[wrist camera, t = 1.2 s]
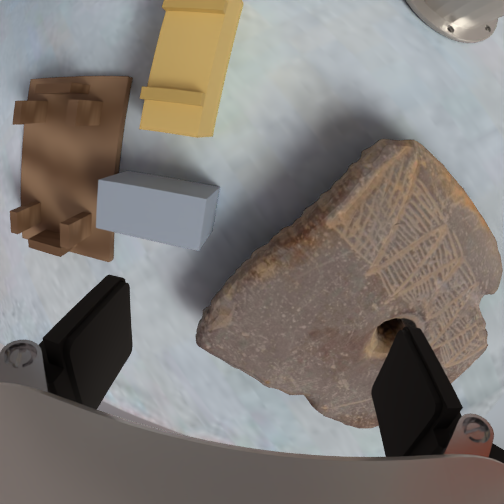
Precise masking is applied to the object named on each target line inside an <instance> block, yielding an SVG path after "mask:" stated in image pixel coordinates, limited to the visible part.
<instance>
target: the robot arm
mask: <svg viewBox="0 0 504 504" xmlns="http://www.w3.org/2000/svg"><path fill="white" fill-rule="evenodd" d="M406 2H407V3H408V4H409V6H410V7H411V8H412V10H413V11H414V12H415V13H416V14H417V15H418V16H419V17H420V19H422V20H423V21H424V22H425V23H426V24H427V25H428V26H430V27H431V28H432V29H434V30H435V31H437V32H438V33H440V34H442V35H444V36H445V37H447V38H449V39H452V40H455V41H458V42H463V43H476V42H479V41H483V40H485V39H487V38H489V37H490V36H491V35H492V34H493V32H494V31H495V29H496V27H497V22H498V18H499V17H502V16H504V0H406ZM131 351H132V331H131V313H130V287H129V284H128V283H126V282H125V279H124V278H121V277H117V276H113V275H107V276H106V277H105V278H104V279H103V280H102V281H101V282H100V283H99V284H98V285H96V286H95V287H94V288H93V289H92V290H91V291H90V292H89V293H88V294H87V295H86V296H85V297H84V298H83V299H82V300H81V301H80V302H79V303H77V304H76V305H75V306H74V307H73V308H72V309H71V310H70V311H69V312H68V313H67V314H66V315H65V316H64V317H63V318H62V319H61V320H60V321H59V322H58V323H57V324H56V325H55V326H54V327H53V328H52V329H51V330H50V331H49V332H48V333H47V334H46V335H45V336H44V337H43V341H42V342H41V343H40V344H39V345H38V344H37V343H35V342H33V341H30V340H17V341H13V342H11V343H9V344H7V345H6V346H5V347H4V348H3V349H2V350H1V352H0V504H504V450H503V449H501V448H499V447H498V446H496V445H494V444H493V439H494V432H493V429H492V427H491V425H490V424H489V422H487V420H486V419H484V418H483V417H481V416H479V415H476V414H465V415H463V416H461V413H460V411H461V409H462V408H463V407H462V405H461V403H460V401H459V399H458V397H457V395H456V393H455V391H454V389H453V387H452V385H451V383H450V381H449V379H448V377H447V375H446V373H445V371H444V370H443V368H442V366H441V364H440V362H439V360H438V358H437V357H436V355H435V353H434V351H433V349H432V348H431V346H430V344H429V342H428V340H427V339H426V337H425V335H424V333H423V332H422V330H421V329H420V328H415V327H404V328H403V329H402V330H399V331H398V333H397V335H396V337H395V339H394V341H393V344H392V346H391V348H390V350H389V353H388V355H387V357H386V359H385V361H384V363H383V366H382V368H381V370H380V372H379V374H378V376H377V378H376V380H375V382H374V384H373V386H372V390H371V395H372V399H373V403H374V407H375V412H376V416H377V420H378V424H379V428H380V433H381V437H382V441H383V446H384V450H385V455H386V457H339V456H320V455H306V454H294V453H284V452H275V451H267V450H260V449H253V448H246V447H240V446H234V445H228V444H223V443H218V442H212V441H207V440H203V439H198V438H193V437H189V436H185V435H180V434H176V433H172V432H168V431H164V430H161V429H156V428H153V427H149V426H146V425H143V424H139V423H136V422H132V421H129V420H126V419H123V418H120V417H117V416H114V415H111V414H108V413H105V412H102V411H99V410H97V408H98V406H99V405H100V403H101V401H102V400H103V398H104V396H105V395H106V393H107V391H108V390H109V388H110V386H111V385H112V383H113V382H114V380H115V378H116V377H117V375H118V373H119V372H120V370H121V369H122V367H123V365H124V364H125V362H126V361H127V359H128V357H129V356H130V354H131Z"/></svg>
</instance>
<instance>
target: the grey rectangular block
mask: <svg viewBox="0 0 504 504" xmlns="http://www.w3.org/2000/svg"><path fill="white" fill-rule="evenodd" d="M219 191H220V187H218V186H212V185H207V184H202V183H197V182H191V181H186V180H180V179H175V178H169V177H163V176H157V175H151V174H145V173H139V172H133V171H124V172H121V173H118V174H115V175H112V176H108V177H105V178H102V179H99V181H98V195H97V213H96V228H99V229H103V230H107V231H112V232H116V233H120V234H125V235H129V236H134V237H138V238H142V239H147V240H151V241H156V242H160V243H165V244H169V245H173V246H178V247H182V248H187V249H191V250H196V251H199V250H200V248H201V247H202V245H203V244H204V243H205V241H206V240H207V238H208V237H209V235H210V234H211V232H212V231H213V226H214V220H215V214H216V208H217V202H218V197H219Z"/></svg>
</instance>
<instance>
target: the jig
mask: <svg viewBox="0 0 504 504" xmlns="http://www.w3.org/2000/svg"><path fill="white" fill-rule="evenodd" d="M132 79H133V78H132V77H129V76H76V77H55V78H41V79H31V81H30V87H29V93H28V100H27V101H15V108H14V116H13V124H24V135H23V148H22V167H21V207H18V208H16V209H14V210H11V211H10V221H11V232H12V233H15V234H19V233H21V232H22V237H23V238H25V239H28V243H29V247H30V248H33V249H36V250H40V251H43V252H46V253H49V254H53V255H56V256H60V257H61V256H62V255H64V254H65V253H67V252H68V251H70V252H73V253H77V254H81V255H84V256H88V257H92V258H95V259H99V260H103V261H107V262H110V261H112V260H113V256H114V232H112V231H107V230H103V229H99V228H96V213H97V195H98V181H99V179H102V178H105V177H108V176H112V175H115V174H118V173H119V164H120V156H121V147H122V140H123V133H124V126H125V119H126V113H127V107H128V101H129V95H130V90H131V84H132Z"/></svg>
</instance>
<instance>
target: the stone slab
mask: <svg viewBox="0 0 504 504" xmlns="http://www.w3.org/2000/svg"><path fill="white" fill-rule="evenodd" d="M502 271H503V270H502V263H501V256H500V254H499V251H498V247H497V242H496V239H495V237H494V236H493V234H492V232H491V231H490V229H489V227H488V225H487V223H486V222H485V220H484V219H483V217H482V216H481V214H480V213H479V212H478V210H477V208H476V207H475V205H474V204H473V202H472V201H471V199H470V198H469V197H468V195H467V194H466V192H465V191H464V189H463V188H462V187H461V186H460V185H459V184H458V183H457V181H456V180H455V179H454V178H453V177H452V175H451V174H450V173H449V172H448V171H447V169H446V168H445V167H444V165H443V164H442V163H441V162H440V161H438V160H437V159H436V158H435V157H434V156H433V155H432V154H431V153H430V152H429V151H428V150H427V149H426V148H425V147H424V146H423V145H421V144H420V143H418V142H417V141H415V140H401V141H400V140H390V139H381V140H378V141H377V143H376V144H374V145H373V146H371V147H370V148H368V149H365V150H363V151H362V154H361V158H360V159H359V160H358V162H356V163H352V164H351V165H350V166H349V168H348V170H347V172H346V173H345V174H344V175H343V176H342V177H341V179H339V180H338V181H336V182H335V183H334V184H333V185H332V187H331V189H330V190H328V191H327V192H325V193H323V194H322V195H320V198H319V200H318V201H317V202H315V203H314V204H313V205H311V206H310V207H308V208H306V209H305V210H304V212H303V214H302V216H301V217H300V218H298V219H297V220H296V221H295V222H294V223H293V225H291V226H288V227H285V228H283V229H282V230H281V231H280V232H279V233H278V234H277V235H275V236H273V238H272V239H271V240H270V242H269V243H268V244H267V245H264V246H262V247H260V248H258V249H257V250H256V251H254V252H253V253H252V255H251V258H250V259H248V260H246V261H245V262H244V263H243V264H242V265H241V267H239V268H238V269H237V270H236V272H235V273H234V274H233V276H231V277H230V278H229V279H228V280H227V281H226V283H225V285H224V286H223V288H222V289H221V290H220V291H219V292H218V293H217V294H216V295H215V297H214V298H213V299H212V300H211V306H208V307H206V308H205V309H204V310H203V316H202V319H201V320H200V321H199V324H198V328H197V334H196V343H197V345H198V346H199V347H201V348H202V349H204V350H206V351H207V352H209V353H210V354H212V355H214V356H216V357H218V358H220V359H222V360H223V361H225V362H226V363H228V364H229V365H231V366H233V367H235V368H237V369H240V370H242V371H243V372H245V373H247V374H249V375H250V376H252V377H253V378H255V379H257V380H258V381H260V382H261V383H262V384H263V385H265V386H267V387H269V388H275V389H279V390H281V391H283V392H285V393H287V394H289V395H304V396H305V397H306V398H307V399H308V401H309V402H310V404H311V405H312V406H313V407H314V408H315V409H316V410H317V411H318V412H320V413H321V414H323V415H324V416H325V417H329V418H332V419H334V420H337V421H340V422H342V423H344V424H345V425H349V426H353V427H356V428H373V427H376V426H379V424H378V420H377V416H376V412H375V407H374V403H373V399H372V395H371V390H372V386H373V384H374V382H375V380H376V378H377V376H378V374H379V372H380V370H381V368H382V366H383V363H384V361H385V359H386V357H387V355H388V353H389V350H390V348H391V346H392V344H393V341H394V339H395V337H396V335H397V333H398V331H399V330H402V329H403V328H404V327H415V328H420V329H421V330H422V332H423V333H424V335H425V337H426V339H427V340H428V342H429V344H430V346H431V348H432V349H433V351H434V353H435V355H436V357H437V358H438V360H439V362H440V364H441V366H442V368H443V370H444V371H445V373H446V375H447V377H448V379H449V381H450V383H452V382H453V381H454V380H455V379H456V378H458V377H459V376H460V375H461V374H462V373H463V372H464V371H465V370H466V369H467V368H469V367H470V366H471V365H472V363H473V362H474V361H475V360H476V359H478V358H479V357H480V356H481V355H482V354H483V352H484V351H485V350H486V348H487V346H488V344H487V335H488V334H487V331H486V329H485V326H486V323H485V320H484V318H483V317H482V315H481V312H480V308H479V303H480V301H481V298H482V297H483V296H484V295H486V294H491V295H492V294H494V293H495V292H496V291H497V289H498V287H499V284H500V280H501V276H502Z"/></svg>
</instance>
